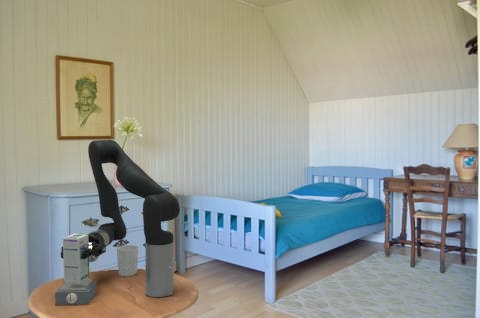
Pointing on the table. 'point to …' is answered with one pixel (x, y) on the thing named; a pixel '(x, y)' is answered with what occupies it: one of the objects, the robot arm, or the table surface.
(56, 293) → the scale
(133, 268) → the white cup
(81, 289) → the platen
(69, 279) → the syrup box
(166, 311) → the table surface
